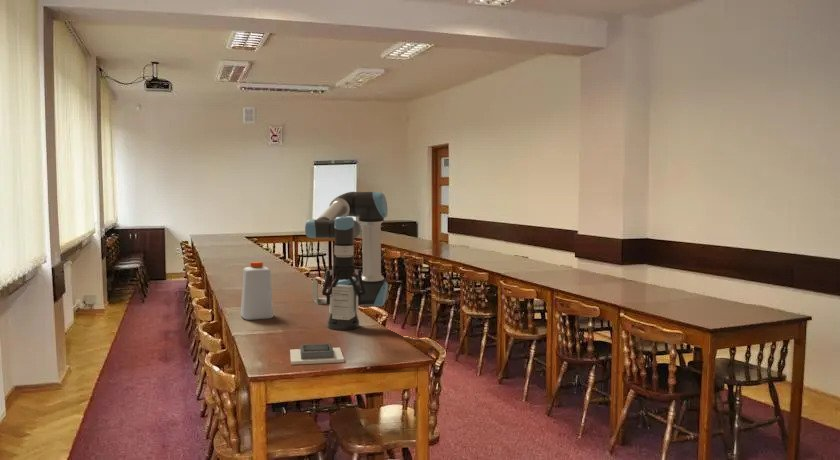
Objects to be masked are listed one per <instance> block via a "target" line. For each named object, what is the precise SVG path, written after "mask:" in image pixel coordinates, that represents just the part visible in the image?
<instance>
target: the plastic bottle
mask: <svg viewBox="0 0 840 460" xmlns="http://www.w3.org/2000/svg"><path fill="white" fill-rule="evenodd" d="M242 271H243V273H242V283H241V284H242V287H241V288H242V289H241V301H240V316H241V317H242V318H243V319H244V320H245V321H246V320H247V321H249V320H250V321H256V320H257V321H258V320H268V319H272V318H273V316H274V306H273V305H274V304H273V292H272V290H273V289H272V278H271V277H272V276H271V275H272V274H271V269H270V268H268V267H267V266H264V263H263V262H262V261H251V263H250V266H248V267H247V266H245V267H244V268H243V270H242Z"/></svg>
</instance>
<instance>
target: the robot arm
mask: <svg viewBox="0 0 840 460" xmlns="http://www.w3.org/2000/svg"><path fill="white" fill-rule="evenodd" d="M387 202H388V201H387V198H386V196H385V194H384V193H383V192H379V191H378V192H376V191H349V192H345V193H342V194H340V195H338V196H337V197H334V199H332V200H331V202H330V203H329V206H328V207H327V208H326V209H325V210H324V211H323V212H322V214H320V216H319V217H318V218H317V219H314V218H313V219H307V220H306V222H305V226H304V231H305V235H306V237H307V238H309V239H310V238H311V239H334V246H333V247H334V252H333V253H334V259H333V260H334V266H333V269H327V270H325V271H326V272H325V273H326V277H325V281H324V283H323V288H322V292H321V294H322V295H323V296H325V297H327V303H326V305H327V306H328V307H329V308H328V309H329V310H328V312H329V317H328V320H327V328H328V329H332V330H342V331H343V330H345V331H346V330H347V331H348V330H354V329H358V328H360V320H359V316H358V313H359V306H361V307H362V306H363V307H368V306H369V307H382V306H384V304H385V302H386V299H387V297H388V291H389V289H388V288H389V284H388V281H385V277H384V276H383V275H382V263H381V262H382V255H381V254H382V241H381V240H382V237H381V235H382V234H381V233H382V231H381V226H382V225H381V224H382V223H383V222H385V218H387V217H388V203H387ZM353 217H355V218H358V221H357V220H355V219H354V218H353ZM361 233H362V235H361V236H362V237H361V238H362V239H361V241H362V246H361V247H362V269H359V268H358V269H355V267H354V263H355V262H354V261H355V260H354V259H355V258H354V254H355V253H354V252H355V250H354V246H355V245H354V243H355V242H354V240H355V239H356V238H358V237H359V236H360V234H361ZM333 274H334V275H335V277H334V280H333V281H332V282H331V285H330V287H329V283H330V280H331V279H330V278H331V276H332V275H333ZM354 274H356V276H357V277H356V276H355V277H353V275H354ZM357 279H358V280H357ZM337 285H353V287H354V289H355V317H353V318H351V319H350V320H342V319H332V287H335V286H337ZM328 287H329V289H328ZM327 290H328V291H327Z"/></svg>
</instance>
